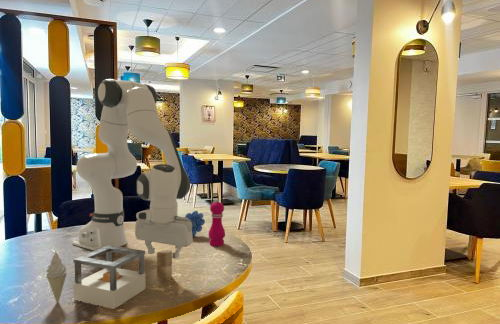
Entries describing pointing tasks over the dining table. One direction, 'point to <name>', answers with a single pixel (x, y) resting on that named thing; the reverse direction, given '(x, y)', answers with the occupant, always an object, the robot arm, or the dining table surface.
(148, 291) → the dining table surface
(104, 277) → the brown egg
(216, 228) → the pepper mill
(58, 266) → the ice cream cone
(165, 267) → the wooden toy block
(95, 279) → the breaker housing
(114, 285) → the guard frame
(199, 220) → the blue flower gear
